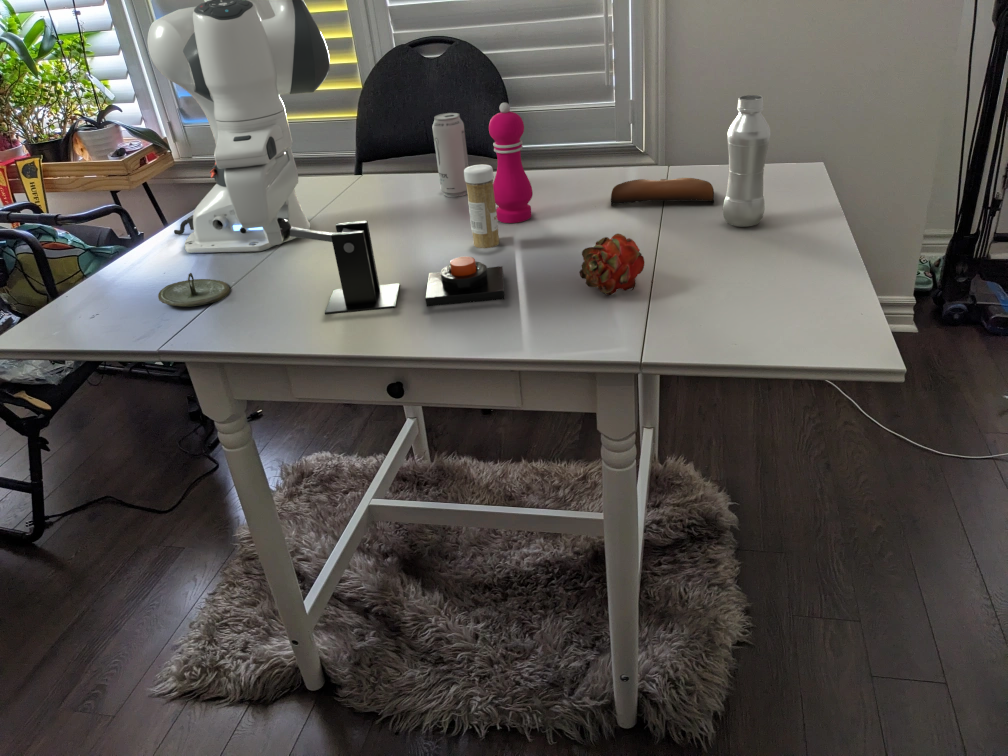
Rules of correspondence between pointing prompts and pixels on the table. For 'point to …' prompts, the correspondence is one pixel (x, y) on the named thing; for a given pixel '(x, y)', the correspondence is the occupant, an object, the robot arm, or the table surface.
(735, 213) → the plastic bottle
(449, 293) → the button block
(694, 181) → the sunglasses case
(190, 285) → the metal shank button
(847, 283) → the table surface
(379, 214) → the table surface
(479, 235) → the spice jar
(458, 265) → the button
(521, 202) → the pepper mill
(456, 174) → the energy drink can
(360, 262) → the switch bracket
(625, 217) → the table surface
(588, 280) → the dragon fruit
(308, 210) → the table surface
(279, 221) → the lever
